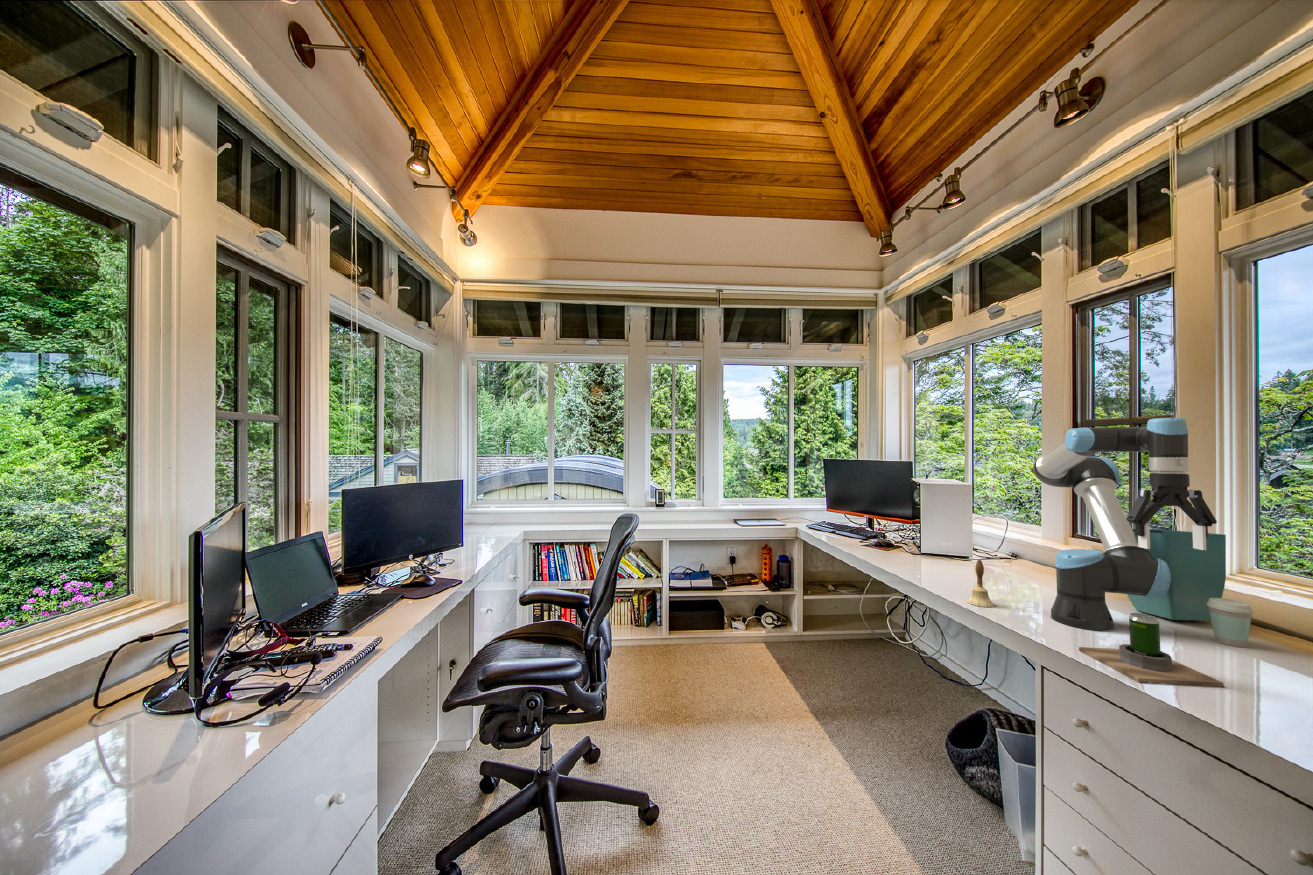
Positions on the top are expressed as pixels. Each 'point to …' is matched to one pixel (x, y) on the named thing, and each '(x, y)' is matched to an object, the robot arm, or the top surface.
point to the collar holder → (1149, 667)
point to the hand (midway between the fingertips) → (1171, 548)
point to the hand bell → (980, 589)
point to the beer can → (1144, 635)
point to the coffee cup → (1230, 621)
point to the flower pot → (1186, 575)
